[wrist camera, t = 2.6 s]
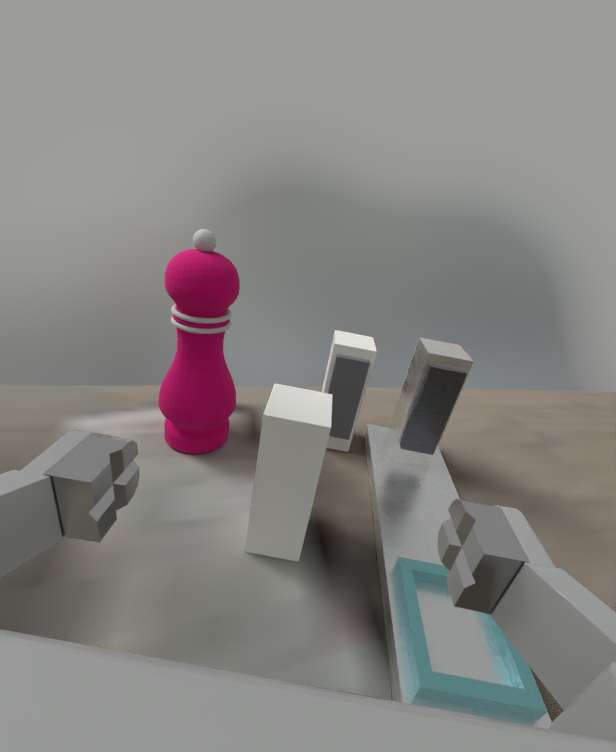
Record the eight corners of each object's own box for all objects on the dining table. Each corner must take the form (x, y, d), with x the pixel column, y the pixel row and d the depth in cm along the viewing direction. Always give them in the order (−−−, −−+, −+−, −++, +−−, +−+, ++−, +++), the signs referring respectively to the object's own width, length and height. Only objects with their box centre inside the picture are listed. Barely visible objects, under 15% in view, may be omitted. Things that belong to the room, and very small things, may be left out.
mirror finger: (311, 448, 38) (334, 345, 32) (314, 424, 42) (335, 330, 36) (348, 455, 38) (377, 354, 32) (347, 431, 42) (373, 337, 36)
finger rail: (400, 777, 17) (528, 609, 11) (364, 434, 42) (395, 327, 36) (566, 809, 17) (786, 659, 11) (429, 446, 42) (472, 341, 36)
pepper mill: (169, 412, 39) (169, 218, 30) (235, 418, 40) (253, 233, 31) (149, 455, 33) (141, 224, 24) (228, 461, 34) (248, 242, 25)
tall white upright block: (244, 551, 26) (263, 414, 20) (258, 503, 30) (276, 379, 24) (298, 562, 26) (331, 427, 20) (304, 512, 30) (332, 390, 24)
